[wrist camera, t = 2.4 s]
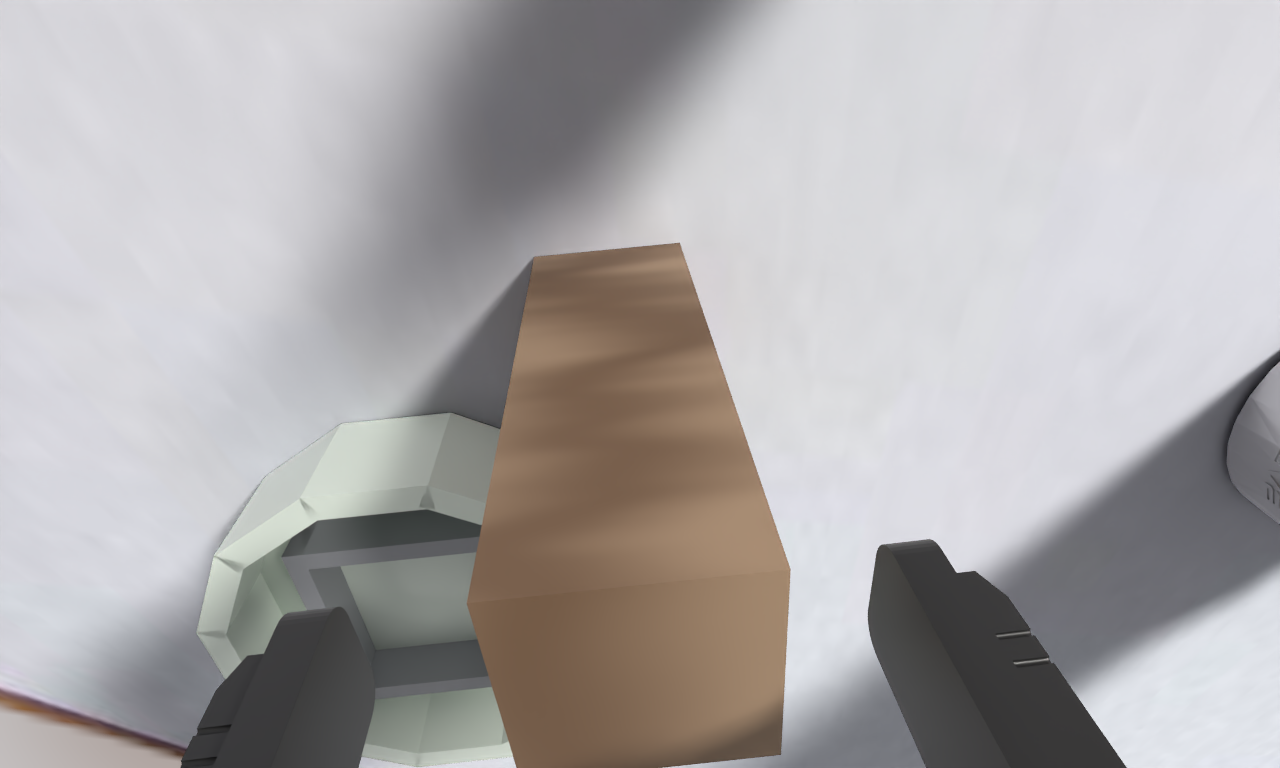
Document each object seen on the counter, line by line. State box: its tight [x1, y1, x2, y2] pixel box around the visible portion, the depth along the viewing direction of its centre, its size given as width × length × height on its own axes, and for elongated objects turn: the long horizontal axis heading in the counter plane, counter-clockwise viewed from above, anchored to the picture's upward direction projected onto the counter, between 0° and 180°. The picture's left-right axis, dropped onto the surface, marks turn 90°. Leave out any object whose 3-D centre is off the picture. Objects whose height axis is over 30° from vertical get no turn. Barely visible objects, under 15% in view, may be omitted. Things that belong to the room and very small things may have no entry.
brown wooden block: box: [467, 243, 790, 768], centre depth 15 cm, size 4×4×12 cm
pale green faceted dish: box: [196, 412, 513, 767], centre depth 23 cm, size 13×13×4 cm
